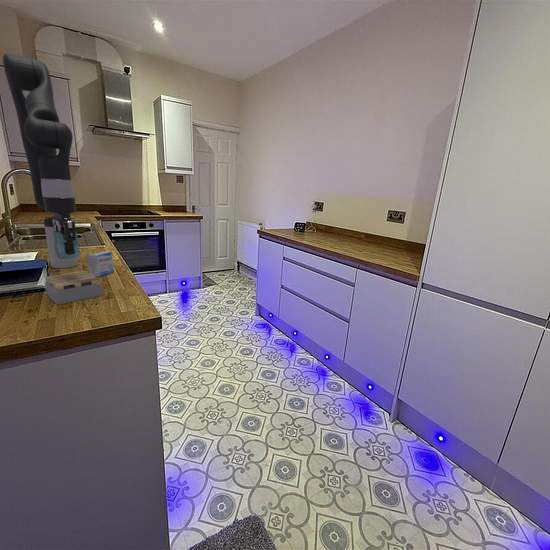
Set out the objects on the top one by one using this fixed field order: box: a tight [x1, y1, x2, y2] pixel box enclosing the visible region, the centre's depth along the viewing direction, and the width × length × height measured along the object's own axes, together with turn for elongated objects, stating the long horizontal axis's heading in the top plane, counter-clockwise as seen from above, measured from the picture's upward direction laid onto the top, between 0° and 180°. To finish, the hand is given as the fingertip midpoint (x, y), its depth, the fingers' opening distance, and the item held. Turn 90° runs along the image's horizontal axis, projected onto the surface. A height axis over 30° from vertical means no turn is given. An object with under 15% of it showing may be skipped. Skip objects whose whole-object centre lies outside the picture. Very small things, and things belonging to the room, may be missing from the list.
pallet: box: [45, 270, 98, 291], centre depth 91 cm, size 11×11×2 cm
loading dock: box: [44, 281, 103, 306], centre depth 92 cm, size 12×12×4 cm
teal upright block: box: [52, 230, 81, 259], centre depth 88 cm, size 5×5×8 cm
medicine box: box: [87, 250, 115, 278], centre depth 114 cm, size 8×4×9 cm, turn 168°
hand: (67, 252), depth 89 cm, fingers closed on teal upright block, 5 cm apart
